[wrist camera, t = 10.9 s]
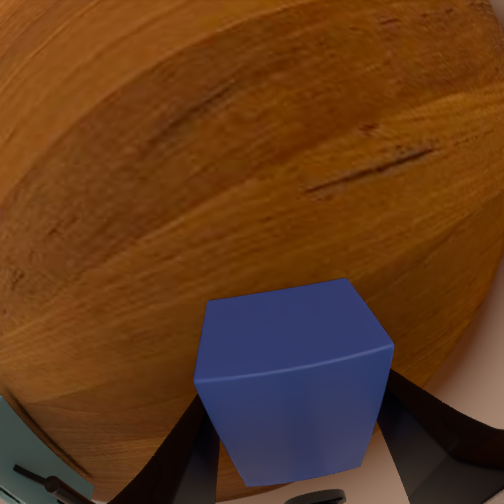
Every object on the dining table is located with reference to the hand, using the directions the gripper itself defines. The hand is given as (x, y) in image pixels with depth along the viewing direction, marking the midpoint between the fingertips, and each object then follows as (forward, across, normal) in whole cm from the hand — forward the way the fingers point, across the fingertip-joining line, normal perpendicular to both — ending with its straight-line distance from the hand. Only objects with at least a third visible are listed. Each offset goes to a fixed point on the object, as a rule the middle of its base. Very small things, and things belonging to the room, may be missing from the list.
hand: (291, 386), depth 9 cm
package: (+1, 0, 0) cm, 1 cm away
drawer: (0, +23, +8) cm, 24 cm away
